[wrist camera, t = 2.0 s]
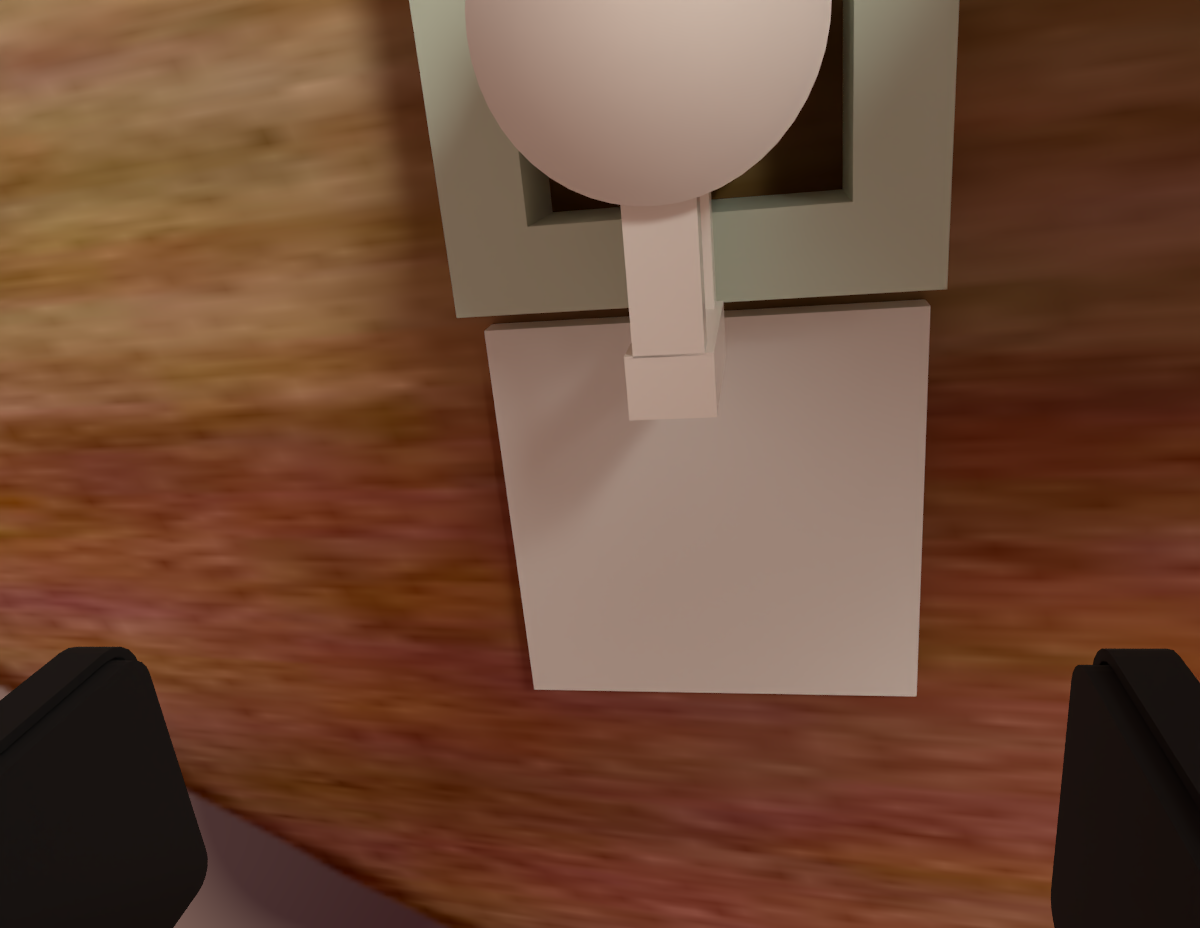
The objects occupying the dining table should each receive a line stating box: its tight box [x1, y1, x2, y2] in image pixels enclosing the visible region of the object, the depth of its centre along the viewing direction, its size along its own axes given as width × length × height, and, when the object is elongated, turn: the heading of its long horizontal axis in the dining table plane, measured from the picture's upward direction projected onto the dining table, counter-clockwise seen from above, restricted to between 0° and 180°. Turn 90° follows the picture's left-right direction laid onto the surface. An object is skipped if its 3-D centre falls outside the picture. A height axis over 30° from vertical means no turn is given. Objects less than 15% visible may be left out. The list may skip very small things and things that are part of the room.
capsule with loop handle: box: [465, 0, 832, 420], centre depth 23 cm, size 13×7×10 cm, turn 5°
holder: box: [409, 0, 959, 318], centre depth 26 cm, size 14×14×4 cm
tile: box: [484, 299, 931, 696], centre depth 32 cm, size 14×14×1 cm
